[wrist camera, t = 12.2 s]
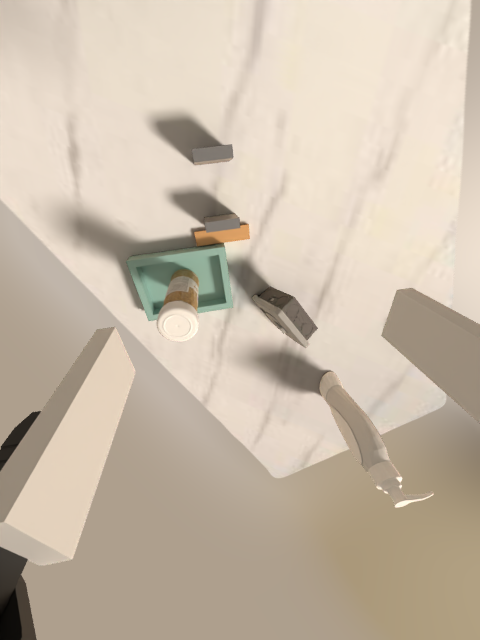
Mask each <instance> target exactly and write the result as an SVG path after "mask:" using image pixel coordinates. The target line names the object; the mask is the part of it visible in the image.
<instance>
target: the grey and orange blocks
mask: <svg viewBox="0 0 480 640" xmlns="http://www.w3.org/2000/svg"><path fill="white" fill-rule="evenodd" d="M192 154H193V160H194V164H195V165H202V164H210V163H219V162H227V161H230V160H231V159H233V149H232V144H231V145H222V146H214V147H205V148H196V149H192ZM204 220H205V228H206V230H202V231H195V232H194V234H195V238H196V243H197V246H203V245H210V244H217V243H224V242H231V241H238V240H245V239H250V236H249V225H248V224H245V225H240V219H239V217H238V216H237V215H236V214H235V213H233V214H226V215H218V216H211V217H204Z"/></svg>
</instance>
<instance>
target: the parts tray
mask: <svg viewBox="0 0 480 640" xmlns="http://www.w3.org/2000/svg"><path fill="white" fill-rule="evenodd" d="M126 263H127V265H128V268H129V271H130V273H131V276H132V279H133V281H134V284H135V286H136V289H137V292H138V294H139V297H140V300H141V302H142V305H143V307H144V310H145V313H146V315H147V318H148V321H153V320H157V318H158V315H159V312H160V310H161V308H162V307H163V304H164V299H165V296H166V293H167V290H168V287H169V284H170V280H171V277H172V275H173V274H174V272H176V271H177V270H180V269H187V270H190V271H192V272H194V273H195V274H196V275H197V277H198V279H199V288H198V307H197V313H202V312H208V311H215V310H221V309H227V308H233V302H232V295H231V288H230V280H229V273H228V266H227V259H226V252H225V246H224V243H220V244H213V245H206V246H199V247H192V248H185V249H178V250H171V251H164V252H157V253H150V254H143V255H136V256H130V258H129V259H128V260H127V261H126Z"/></svg>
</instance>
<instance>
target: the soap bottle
mask: <svg viewBox="0 0 480 640" xmlns="http://www.w3.org/2000/svg"><path fill="white" fill-rule="evenodd" d="M319 390H320V393H321V395H322V397H323V398H324V400H325V401H326V402H327V404H328V405H329V406H330V409H331V412H332V415H333V417H334V419H335V422H336V424H337V426H338V428H339V430H340V432H341V433H342V435H343V437H344V439H345V441H346V443H347V445H348V447H349V449H350V450H351V452H352V454H353V455H354V457H355V458H356V460H357V461H358V463H359V464H361V465H362V466H363V468H364V469H365V470H366V471H367V472H368V473H369V475H370V477H371V478H372V480H373V482H374V484H375V485H376V487H377V489H383V491H384V493H388V494H389V495H390V497H391V499H392V500H393V502H394V504H395V505H394V506H395V507H402V506H404V505H407V504H408V503H410V502H415V501H420V500H424V499H426V498H428V497H430V496H432V495H433V494H434V493H433V492H432V491H429V492H427V493H424V494H417V495H409V494H408V495H404V493H403V491H402V490H401V487H402V485H401V483H400V482H401V480H402V477H401V475H400V474H399V472H398V471H397V469H396V468H395V467H394V465H393V463H392V462H391V461H390V458H389V456H388V454H387V449H386V446H385V444H384V442H383V440H382V438H381V436H380V434H379V433H378V431H377V429H376V428H375V426H374V425H373V423H372V422H371V420H370V419H369V417H368V416H367V415H366V414H365V412H364V411H363V410H362V409H361V408H360V407H359V406H358V405H357V404H356V402H354V400H353V399H352V398H351V397H350V396H349V394H348V393H347V392H346V391H345V390H344V387H343V385H342V383H341V382H340V380H339V378H338V377H337V375H336V374H335V373H334V372H327V373H325V374H324V375H323V377H322V379H321V382H320V386H319Z"/></svg>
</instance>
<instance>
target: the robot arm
mask: <svg viewBox="0 0 480 640" xmlns="http://www.w3.org/2000/svg"><path fill="white" fill-rule="evenodd" d="M381 336H382V337H384V338H385V339H386V340H387V341H388V342H389V343H390V344H391V345H392V346H394V347H395V348H396V349H397V350H398V351H399V352H400V353H401V354H403V355H404V356H405V357H406V358H407V359H408V360H409V361H410V362H411V363H413V364H414V365H415V366H416V367H417V368H418V369H419V370H420V371H422V372H423V373H424V374H425V375H426V376H427V377H428V378H429V379H430V380H432V381H433V382H434V383H435V384H436V385H437V386H438V387H439V388H441V389H442V390H443V391H444V392H445V393H446V394H447V395H448V396H449V397H451V398H452V399H453V400H454V401H455V402H456V403H457V404H458V405H460V406H461V407H462V408H463V409H464V410H465V411H466V412H467V413H469V414H470V415H471V416H472V417H473V418H474V419H475V420H476V421H478V422H479V423H480V324H478V323H476V322H474V321H472V320H470V319H468V318H467V317H465V316H463V315H461V314H459V313H457V312H456V311H454V310H452V309H450V308H448V307H446V306H444V305H443V304H441V303H439V302H437V301H435V300H433V299H431V298H430V297H428V296H426V295H424V294H422V293H420V292H418V291H417V290H415V289H413V288H408V289H400V290H397V291H396V294H395V297H394V300H393V303H392V306H391V309H390V312H389V315H388V318H387V321H386V324H385V327H384V330H383V333H382V335H381ZM135 373H136V372H135V369H134V367H133V365H132V363H131V360H130V358H129V356H128V354H127V352H126V349H125V347H124V345H123V343H122V340H121V338H120V336H119V334H118V331H117V329H116V327H111V328H103V329H97V330H96V332H95V333H94V335H93V336H92V338H91V339H90V341H89V342H88V343H87V345H86V346H85V348H84V349H83V351H82V352H81V354H80V355H79V357H78V358H77V360H76V361H75V363H74V364H73V365H72V367H71V369H70V370H69V372H68V373H67V374H66V376H65V377H64V379H63V380H62V382H61V383H60V385H59V386H58V388H57V389H56V391H55V392H54V393H53V395H52V396H51V398H50V399H49V401H48V402H47V404H46V405H45V407H44V408H43V410H42V411H38V412H32V413H31V414H30V415H29V416H28V417H27V418H26V419H24V420H23V421H22V422H21V423H20V424H19V425H18V426H17V427H15V428H14V430H13V431H12V432H11V434H10V435H9V436H8V438H7V439H6V441H5V442H4V443H3V444H2V446H1V450H0V640H36V635H35V629H34V624H33V619H32V614H31V608H30V603H29V598H28V594H27V587H26V583H25V581H24V579H23V578H22V576H21V573H22V571H23V569H24V566H25V564H26V562H27V560H28V561H31V562H33V563H35V564H38V565H40V566H43V565H48V564H53V563H58V562H63V561H67V560H72V559H73V556H74V553H75V550H76V547H77V544H78V541H79V538H80V535H81V532H82V529H83V526H84V524H85V521H86V518H87V515H88V512H89V509H90V506H91V503H92V500H93V497H94V494H95V491H96V488H97V485H98V482H99V479H100V476H101V473H102V470H103V467H104V464H105V461H106V458H107V456H108V452H109V450H110V447H111V443H112V441H113V438H114V435H115V432H116V429H117V426H118V423H119V420H120V417H121V414H122V411H123V408H124V405H125V402H126V399H127V396H128V393H129V390H130V387H131V384H132V382H133V379H134V376H135Z"/></svg>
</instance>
